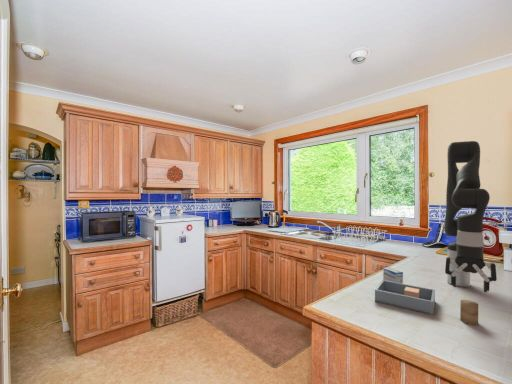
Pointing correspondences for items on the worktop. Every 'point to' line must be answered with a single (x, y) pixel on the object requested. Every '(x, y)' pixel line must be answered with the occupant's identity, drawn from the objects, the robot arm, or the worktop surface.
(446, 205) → the robot arm
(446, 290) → the worktop surface
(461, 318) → the walnut cylinder
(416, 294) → the terracotta cube
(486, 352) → the worktop surface
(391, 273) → the medicine box
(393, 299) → the tote
